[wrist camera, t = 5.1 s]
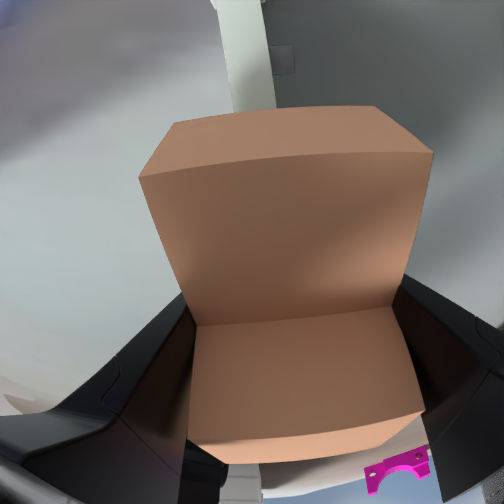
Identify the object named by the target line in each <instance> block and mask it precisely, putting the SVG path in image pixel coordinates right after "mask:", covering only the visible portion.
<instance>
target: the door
mask: <svg viewBox="0 0 504 504" xmlns="http://www.w3.org/2000/svg"><path fill="white" fill-rule="evenodd" d="M216 6H217V12H218V18H219V24H220V30H221V36H222V42H223V48H224V54H225V60H226V66H227V73H228V79H229V85H230V91H231V97H232V103H233V109H234V113H239V112H247V111H256V110H266V109H277V105H276V98H275V91H274V84H273V77H272V75H279V74H290V73H295V61H294V54H293V50H292V46H291V45H277V46H268V44H267V38H266V32H265V26H264V20H263V15H262V9H261V3H260V0H216Z"/></svg>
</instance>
